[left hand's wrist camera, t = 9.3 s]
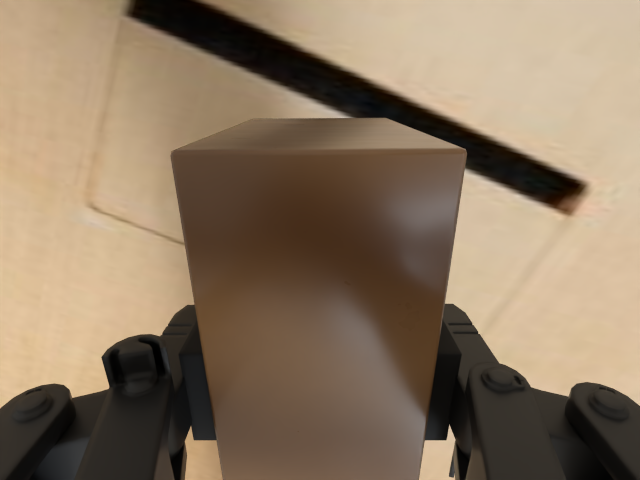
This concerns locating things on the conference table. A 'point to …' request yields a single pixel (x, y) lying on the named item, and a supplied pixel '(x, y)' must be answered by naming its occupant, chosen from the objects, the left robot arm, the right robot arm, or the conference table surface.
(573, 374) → the conference table surface
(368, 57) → the conference table surface
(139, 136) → the conference table surface
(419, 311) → the bar
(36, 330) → the conference table surface
